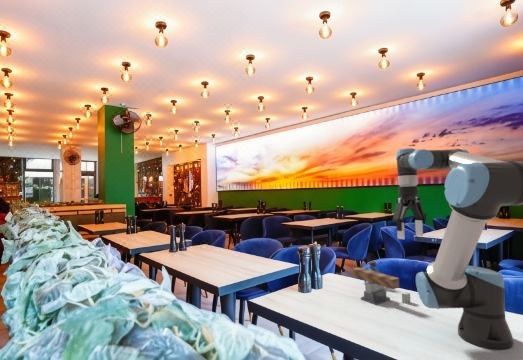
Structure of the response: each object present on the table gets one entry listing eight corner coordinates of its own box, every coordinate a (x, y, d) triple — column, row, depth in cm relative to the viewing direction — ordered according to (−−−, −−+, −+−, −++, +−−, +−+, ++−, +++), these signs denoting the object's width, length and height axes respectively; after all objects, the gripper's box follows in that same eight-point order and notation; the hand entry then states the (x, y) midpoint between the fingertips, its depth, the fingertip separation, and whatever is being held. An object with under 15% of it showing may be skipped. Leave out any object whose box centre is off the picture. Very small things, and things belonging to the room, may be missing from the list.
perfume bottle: (364, 284, 165) (363, 261, 165) (374, 283, 167) (373, 260, 167) (372, 288, 159) (371, 264, 159) (382, 286, 161) (381, 263, 161)
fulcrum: (390, 299, 143) (389, 282, 144) (375, 304, 138) (374, 286, 138) (375, 294, 150) (374, 277, 150) (360, 299, 145) (360, 281, 145)
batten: (399, 287, 136) (398, 278, 136) (393, 289, 134) (393, 279, 134) (358, 275, 155) (358, 267, 155) (352, 277, 153) (352, 268, 153)
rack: (410, 302, 140) (410, 293, 140) (406, 303, 138) (405, 294, 138) (369, 288, 159) (369, 280, 159) (365, 290, 157) (365, 282, 157)
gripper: (415, 186, 143) (418, 233, 142) (381, 186, 129) (384, 239, 128) (432, 185, 137) (435, 235, 136) (399, 185, 123) (401, 241, 122)
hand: (410, 237), depth 132 cm, fingers open, 13 cm apart
